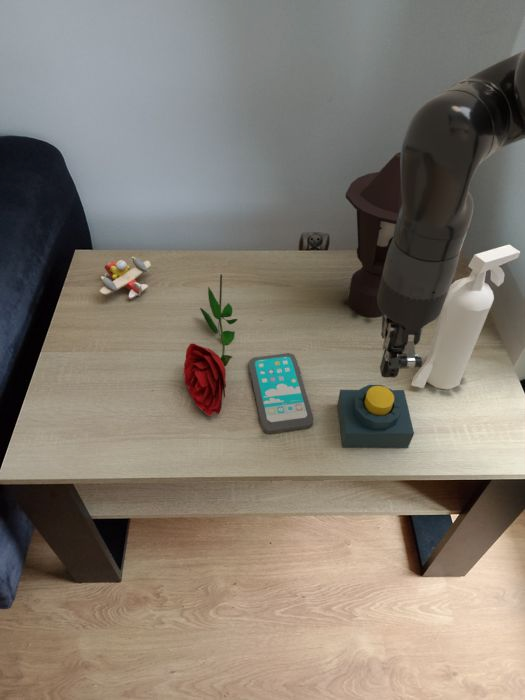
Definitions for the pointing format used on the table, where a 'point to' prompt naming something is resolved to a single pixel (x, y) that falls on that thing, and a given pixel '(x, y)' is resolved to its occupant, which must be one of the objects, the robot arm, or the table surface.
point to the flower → (209, 362)
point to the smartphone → (280, 393)
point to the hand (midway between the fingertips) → (388, 372)
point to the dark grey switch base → (373, 421)
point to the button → (379, 400)
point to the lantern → (373, 232)
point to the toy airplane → (124, 277)
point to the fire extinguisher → (462, 320)
